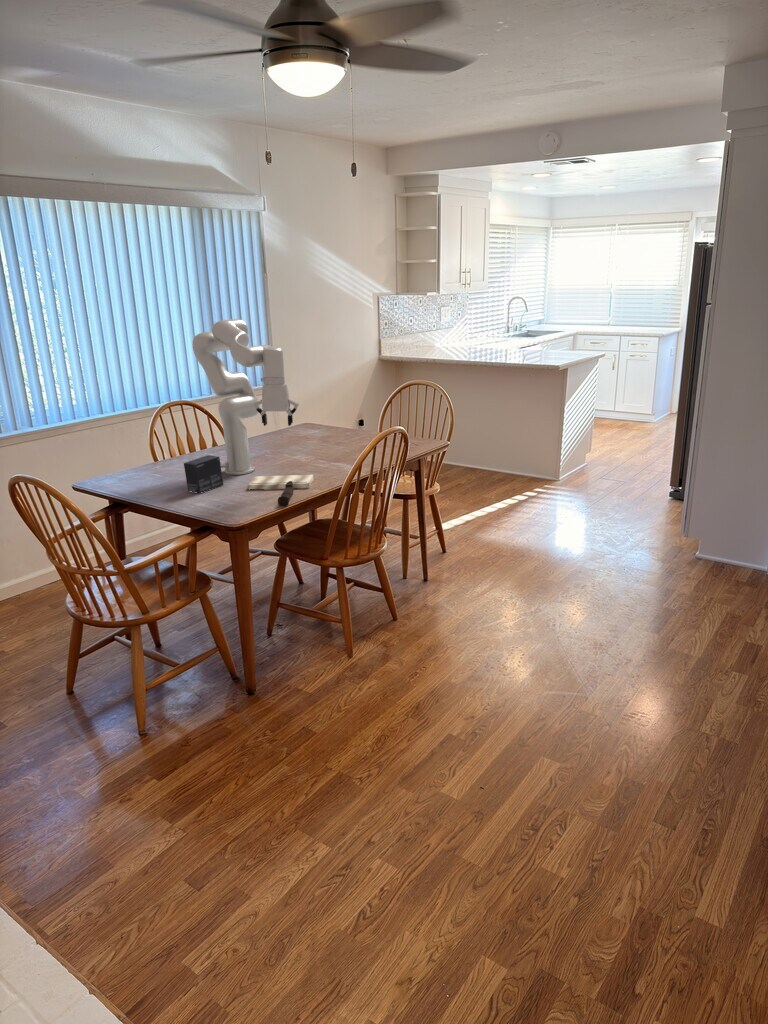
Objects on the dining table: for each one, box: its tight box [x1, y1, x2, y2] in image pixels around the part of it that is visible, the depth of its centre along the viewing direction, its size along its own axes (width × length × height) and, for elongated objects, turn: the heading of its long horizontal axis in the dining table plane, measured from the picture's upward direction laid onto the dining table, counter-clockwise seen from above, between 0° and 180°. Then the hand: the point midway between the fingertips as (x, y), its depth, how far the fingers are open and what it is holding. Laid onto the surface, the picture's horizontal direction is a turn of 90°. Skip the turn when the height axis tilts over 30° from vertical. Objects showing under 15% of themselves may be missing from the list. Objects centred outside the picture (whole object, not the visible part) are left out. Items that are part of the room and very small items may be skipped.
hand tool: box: [277, 481, 294, 507], centre depth 263 cm, size 19×4×5 cm, turn 175°
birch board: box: [247, 474, 314, 491], centre depth 281 cm, size 24×12×2 cm, turn 88°
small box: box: [183, 454, 224, 494], centre depth 279 cm, size 13×7×12 cm, turn 147°
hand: (277, 424), depth 275 cm, fingers open, 9 cm apart
